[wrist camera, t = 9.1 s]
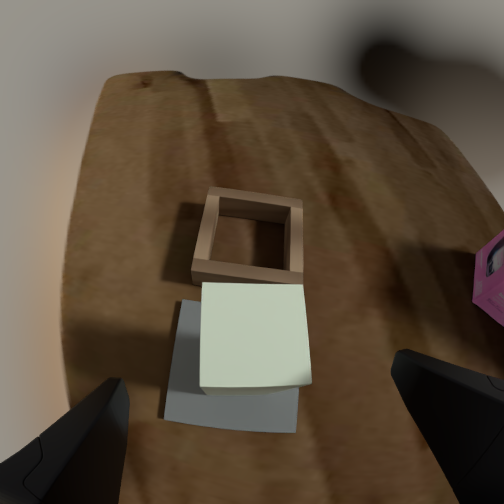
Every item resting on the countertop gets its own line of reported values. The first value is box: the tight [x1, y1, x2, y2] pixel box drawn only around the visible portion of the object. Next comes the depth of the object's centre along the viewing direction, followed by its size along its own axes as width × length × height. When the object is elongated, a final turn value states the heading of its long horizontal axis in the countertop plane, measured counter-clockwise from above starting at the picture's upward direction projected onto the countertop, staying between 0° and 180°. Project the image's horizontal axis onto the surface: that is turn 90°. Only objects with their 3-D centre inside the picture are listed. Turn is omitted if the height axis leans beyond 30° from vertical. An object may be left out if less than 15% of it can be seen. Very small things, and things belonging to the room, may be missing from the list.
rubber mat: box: [164, 299, 299, 433], centre depth 19 cm, size 9×9×1 cm
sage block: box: [200, 282, 312, 396], centre depth 15 cm, size 4×4×10 cm
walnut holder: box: [191, 186, 303, 286], centre depth 23 cm, size 8×8×2 cm
